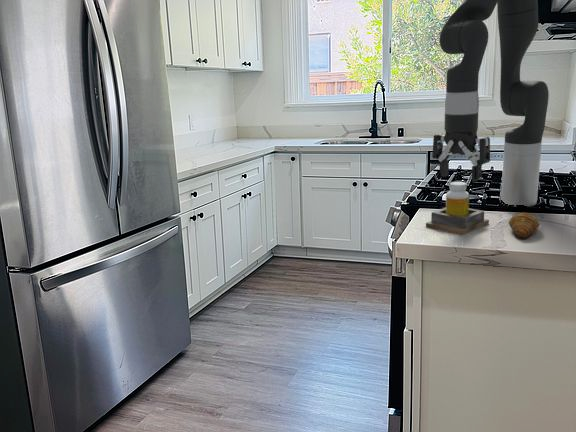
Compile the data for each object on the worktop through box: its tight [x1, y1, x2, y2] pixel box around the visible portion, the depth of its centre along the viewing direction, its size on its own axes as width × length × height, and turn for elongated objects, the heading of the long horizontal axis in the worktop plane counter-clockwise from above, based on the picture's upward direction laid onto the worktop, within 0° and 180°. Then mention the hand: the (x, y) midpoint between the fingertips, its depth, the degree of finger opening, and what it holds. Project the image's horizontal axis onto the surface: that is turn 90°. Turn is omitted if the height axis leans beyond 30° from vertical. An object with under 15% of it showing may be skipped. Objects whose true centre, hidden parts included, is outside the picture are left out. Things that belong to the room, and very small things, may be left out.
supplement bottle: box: [445, 181, 470, 217], centre depth 128 cm, size 5×5×10 cm
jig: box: [425, 207, 490, 236], centre depth 129 cm, size 12×10×4 cm
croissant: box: [508, 211, 540, 240], centre depth 122 cm, size 14×7×5 cm, turn 153°
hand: (459, 178), depth 126 cm, fingers open, 8 cm apart
